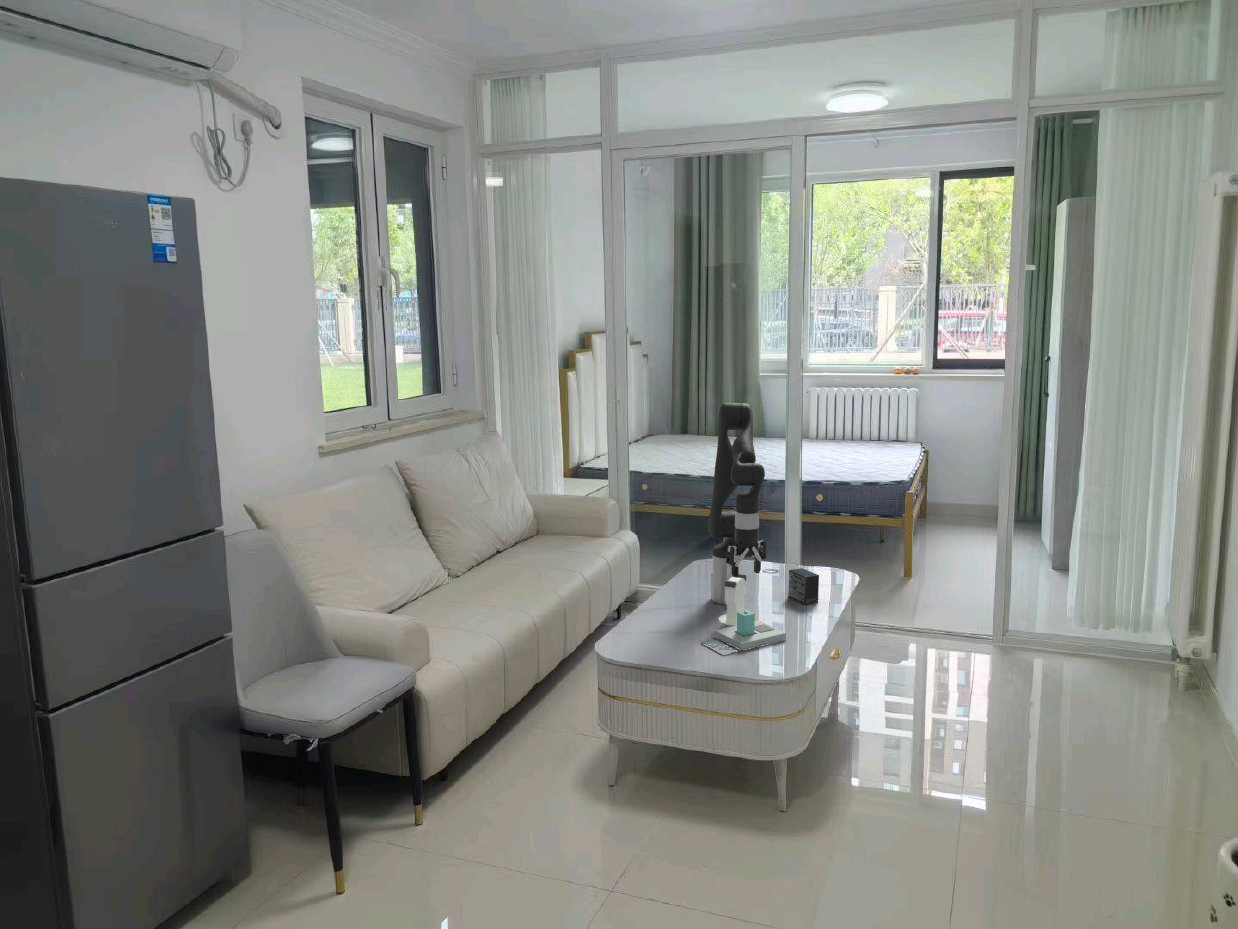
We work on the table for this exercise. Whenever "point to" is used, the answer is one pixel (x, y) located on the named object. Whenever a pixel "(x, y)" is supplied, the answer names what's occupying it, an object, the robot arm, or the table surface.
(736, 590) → the white curved stand
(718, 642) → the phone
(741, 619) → the teal knobbed block
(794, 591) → the small box
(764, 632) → the plate
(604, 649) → the table surface
